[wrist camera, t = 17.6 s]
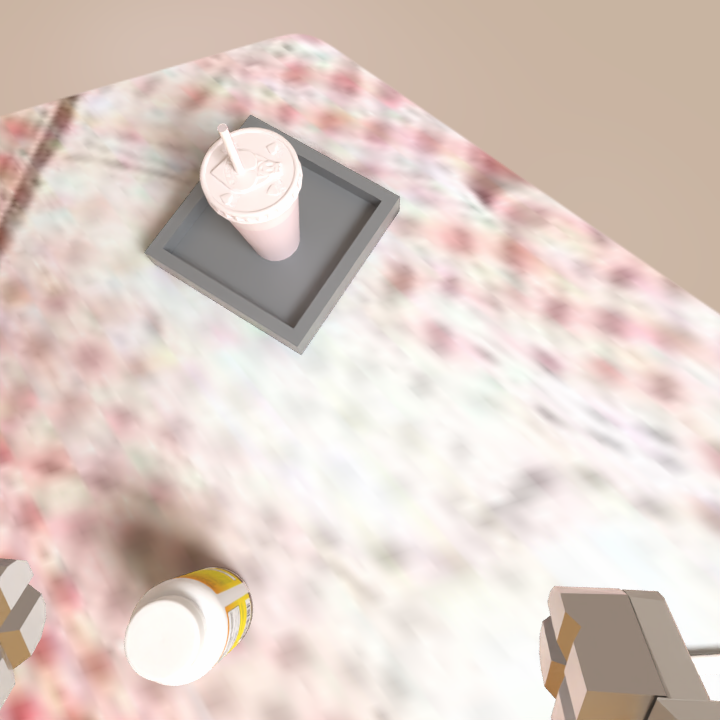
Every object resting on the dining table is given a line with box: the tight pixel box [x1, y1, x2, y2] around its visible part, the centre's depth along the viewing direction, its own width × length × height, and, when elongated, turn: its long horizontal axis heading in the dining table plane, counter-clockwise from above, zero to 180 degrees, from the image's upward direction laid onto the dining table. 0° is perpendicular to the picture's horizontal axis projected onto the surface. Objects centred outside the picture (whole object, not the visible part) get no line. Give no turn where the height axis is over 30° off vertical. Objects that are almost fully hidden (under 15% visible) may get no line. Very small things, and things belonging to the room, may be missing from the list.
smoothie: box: [200, 124, 303, 261], centre depth 40 cm, size 6×6×14 cm
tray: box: [144, 115, 400, 355], centre depth 47 cm, size 14×14×2 cm
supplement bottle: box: [124, 567, 253, 686], centre depth 36 cm, size 6×6×10 cm
